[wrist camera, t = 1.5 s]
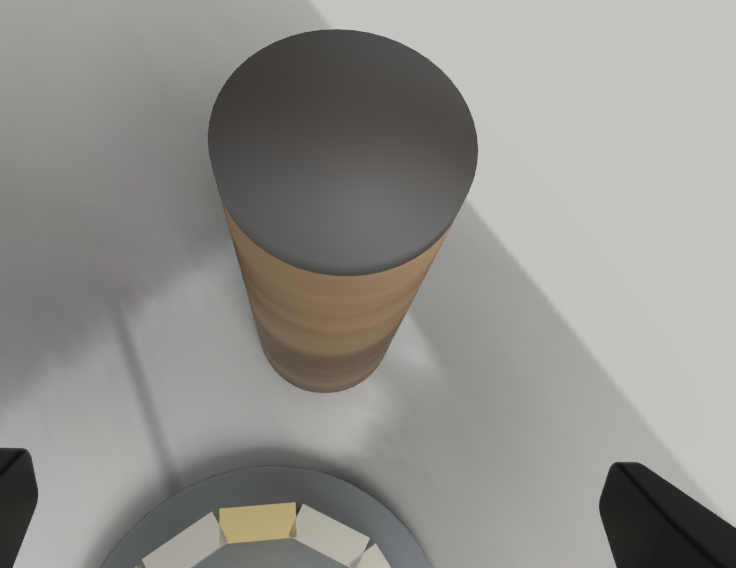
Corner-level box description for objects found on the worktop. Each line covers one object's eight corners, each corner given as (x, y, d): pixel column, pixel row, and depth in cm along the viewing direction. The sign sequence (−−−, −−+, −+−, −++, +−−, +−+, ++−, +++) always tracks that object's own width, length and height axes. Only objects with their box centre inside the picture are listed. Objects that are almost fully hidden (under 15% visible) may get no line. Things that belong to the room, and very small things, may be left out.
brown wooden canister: (395, 388, 22) (496, 254, 10) (261, 396, 22) (206, 265, 10) (382, 252, 24) (455, 8, 12) (258, 257, 24) (209, 4, 12)
